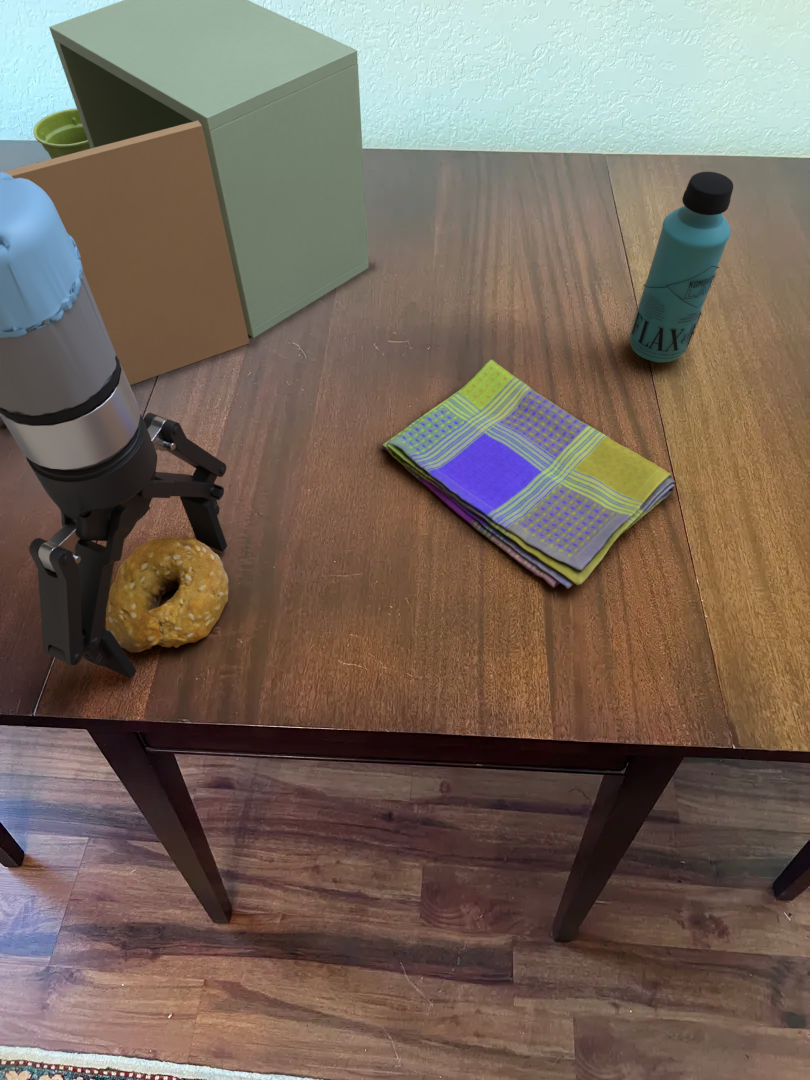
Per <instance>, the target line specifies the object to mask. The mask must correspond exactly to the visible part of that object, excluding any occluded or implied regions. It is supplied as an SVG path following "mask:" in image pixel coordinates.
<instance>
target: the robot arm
mask: <svg viewBox="0 0 810 1080" xmlns="http://www.w3.org/2000/svg"><path fill="white" fill-rule="evenodd" d="M3 172H4V171H0V418H1V419H2V421H3V423H4V425H5V426H6V429H8V431H9V433H10V434H11V437H12V438H13V439H14V441H15V443H16V444H17V446H18V448H19V449H20V451H21V453H22V454H23V455H24V456H25V458H26V461H27V463H28V464H29V466H30V468H31V469H32V471H33V473H34V474H35V476H36V478H37V480H38V482H39V483H40V484H41V486H42V487H43V490H44V491H45V493H46V494H47V495H48V497H49V498H50V500H51V501H52V502H53V503H54V504H55V505H56V506H57V507H58V509H59V510H60V515H61V526H62V527H61V528H60V529H59V530H57V532H55V533H54V535H53V536H52V537H50V538H49V539H48V540H46V539H44V538H41V537H36V538H34V539H33V540H32V541H31V542H30V545H29V548H28V552H29V554H30V556H31V558H32V560H33V562H34V564H35V566H36V568H37V576H38V577H37V578H38V589H39V590H38V591H39V606H40V620H41V621H40V622H41V635H42V637H41V638H42V649H43V652H44V653H45V654H47V655H49V656H51V657H54V658H55V659H58V660H60V661H63V662H64V663H67V664H68V665H71V666H76V665H78V664H79V663H80V661H81V660H82V658H83V659H84V660H86V661H87V662H90V663H92V664H94V665H96V666H99V667H103V668H107V669H109V670H111V671H113V672H115V673H117V674H120V675H122V676H124V677H126V678H129V679H131V680H132V678H133V677H134V676H135V674H136V673H137V669H136V668H135V666H134V664H133V663H132V662H131V660H130V658H129V657H128V656H127V654H126V652H125V651H124V650H123V649H124V648H122V647H121V646H120V645H119V643H118V642H117V640H116V639H115V637H114V636H113V634H112V633H111V632H110V631H107V630H106V628H104V625H105V620H106V608H107V602H108V599H109V592H110V589H111V585H112V584H111V583H112V578H113V572H114V566H115V563H117V562H119V561H121V559H122V555H123V551H124V543H125V540H126V538H127V537H128V536H129V535H130V534H131V532H132V531H133V529H134V527H135V526H136V524H137V523H138V522H139V521H140V520H141V519H142V518H144V517H145V516H146V514H147V513H148V512H149V510H150V509H151V506H150V504H151V502H152V499H171V497H179V499H180V502H181V504H182V507H183V509H184V511H185V514H186V516H187V517H186V518H187V519H188V522H189V524H190V526H191V529H192V532H193V534H194V536H195V537H194V538H195V539H196V540H198V541H200V542H202V543H204V544H205V545H206V546H208V547H209V548H210V549H211V548H212V549H214V550H217V551H219V552H222V553H224V551H225V550H226V548H227V547H228V544H227V541H226V537H225V535H224V532H223V529H222V526H221V523H220V520H219V517H218V515H219V514H220V506H219V502H218V501H220V500H221V499H222V498H223V496H224V493H225V488H224V486H221V485H219V484H216V483H215V482H216V480H217V478H222V477H224V476H225V474H226V472H227V465H226V463H225V462H224V461H221V460H220V459H218V458H217V457H216V456H214V455H213V454H211V453H209V451H207V450H205V449H204V448H202V447H201V446H199V445H198V444H196V443H195V442H193V441H192V440H190V439H189V438H187V436H186V434H185V431H184V430H183V427H182V426H181V424H180V422H177V421H175V420H171V419H169V418H166V417H164V416H162V415H158V414H155V413H152V412H148V413H146V414H145V415H144V417H143V415H142V414H141V412H140V407H139V404H138V401H137V399H136V396H135V394H134V392H133V389H132V387H131V385H130V384H129V382H128V380H127V377H126V375H125V373H124V370H123V368H122V366H121V363H120V361H119V359H118V358H117V355H116V353H115V350H114V348H113V345H112V343H111V340H110V338H109V335H108V333H107V330H106V328H105V325H104V323H103V320H102V318H101V315H100V312H99V310H98V307H97V305H96V302H95V300H94V297H93V295H92V292H91V290H90V287H89V285H88V282H87V279H86V277H85V274H84V272H83V268H82V265H81V261H80V257H81V256H80V253H79V251H78V248H77V246H76V243H75V241H74V240H73V238H72V236H70V235H68V233H67V231H66V229H65V227H64V225H63V223H62V221H61V219H60V216H59V214H58V212H57V210H56V208H55V206H54V204H53V202H52V200H51V199H50V197H49V196H48V195H47V194H46V192H45V191H44V190H43V189H42V188H40V187H39V186H38V185H36V184H35V183H33V182H32V181H30V180H28V179H23V178H15V179H14V178H13V177H12V176H11V175H9V174H7V173H3ZM157 451H161V452H165V451H166V452H168V453H169V454H171V455H173V456H174V457H177V458H178V459H180V460H181V461H182V462H184V463H186V464H188V465H190V466H191V467H193V468H194V469H195V470H194V472H193V474H188V473H187V474H186V473H176V472H164V471H163V472H161V471H157V464H158V454H157ZM96 541H97V542H98V543H97V542H96ZM99 542H106V544H105V545H103V544H100V543H99Z"/></svg>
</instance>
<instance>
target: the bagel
mask: <svg viewBox="0 0 810 1080" xmlns="http://www.w3.org/2000/svg"><path fill="white" fill-rule="evenodd" d="M176 589H177V590H176ZM172 590H176V592H175V593H174V594H173V596H172V597H170V598H169V599H167V600H166V601H165V602H164V603H162V597H163V596H165V594H167V593H169V592H170V591H172ZM228 601H229V577H228V574H227V572H226V570H225V568H224V563H223V560H222V559H221V557H220V556H219V555H218V554H217V553H215V552H214V551H213V550H212V549H211V547H209V546H206V545H205V544H204V543H202V542H200V541H198V540H197V539H196V537H192V536H189V537H187V536H186V537H182V536H167V537H166V536H165V537H160V538H158V537H157V538H150V539H148V540H147V541H146V542H145V543H143V544H140V545H139V546H137V547H136V548H135V549H134V550H133V551H132V552H131V553H130V554H129V555H128V556H127V558H126V559H125V560H124V561H123V562H122V563H121V564H120V566H119V567H118V569H117V572H116V576H115V578H114V581H113V582H112V584H111V585H110V590H109V596H108V602H107V608H106V613H105V624H104V625H105V630H107V631H110V632H111V633H112V634H113V636H114V637H115V639H116V640H117V642H118V643H119V645H120V646H121V648H122V649H125V650H126V651H127V652H129V653H141V652H143V651H145V650H150V649H152V647H153V646H154V647H155V646H156V645H157V646H161V647H162V648H171V647H174V648H179V647H180V646H183V645H185V644H189V643H192V644H193V643H197V642H198V641H200V640H202V639H204V638H206V637H207V636H208V635H209V634H210V632H211V631H212V629H213V628H214V626H216V623H217V622H218V620H219V619H220V618H221V615H222V614H223V612H224V608H225V606H226V604H227V603H228ZM161 603H162V604H161ZM160 604H161V605H160Z"/></svg>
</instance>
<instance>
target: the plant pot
mask: <svg viewBox="0 0 810 1080" xmlns="http://www.w3.org/2000/svg"><path fill="white" fill-rule="evenodd" d="M32 133H33V136H34V139H35V140H36V141H37V142H38V143H40V144H41V145H42V147H43V149H44V150H45V151H46V152H47V153H48V155H49V157H50V159H54V158H57V157H61V156H65V155H69V154H73V153H76V152H80V151H84V150H88V149H91V148H90V145H89V142H88V139H87V136H86V134H85V131H84V128H83V125H82V122H81V119H80V116H79V113H78V110H77V107H76V108H69V109H64V110H59V111H56V112H53V113H51V114H48V115H46V116H44V117H43V118H41V119H40V120H39V121H37V122H36V123H35V125H34V127H33V129H32Z"/></svg>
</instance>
